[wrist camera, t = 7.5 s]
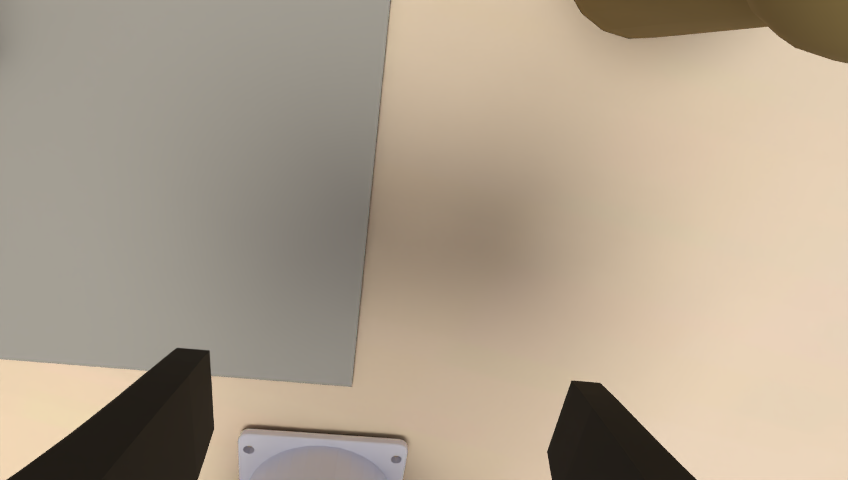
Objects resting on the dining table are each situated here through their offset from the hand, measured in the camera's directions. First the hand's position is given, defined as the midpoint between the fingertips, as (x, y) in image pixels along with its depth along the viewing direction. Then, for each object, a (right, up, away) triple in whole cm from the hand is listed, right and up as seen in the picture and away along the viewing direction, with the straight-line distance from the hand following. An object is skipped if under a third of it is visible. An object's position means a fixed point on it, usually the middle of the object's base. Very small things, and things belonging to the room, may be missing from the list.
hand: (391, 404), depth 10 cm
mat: (-11, +7, +8) cm, 15 cm away
